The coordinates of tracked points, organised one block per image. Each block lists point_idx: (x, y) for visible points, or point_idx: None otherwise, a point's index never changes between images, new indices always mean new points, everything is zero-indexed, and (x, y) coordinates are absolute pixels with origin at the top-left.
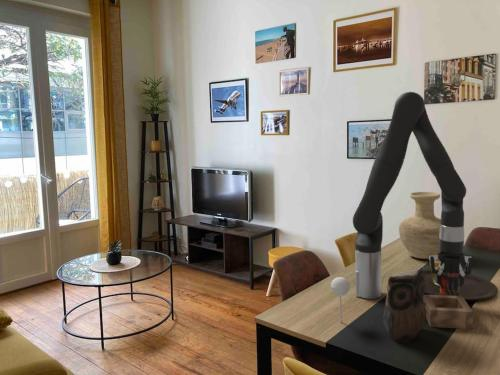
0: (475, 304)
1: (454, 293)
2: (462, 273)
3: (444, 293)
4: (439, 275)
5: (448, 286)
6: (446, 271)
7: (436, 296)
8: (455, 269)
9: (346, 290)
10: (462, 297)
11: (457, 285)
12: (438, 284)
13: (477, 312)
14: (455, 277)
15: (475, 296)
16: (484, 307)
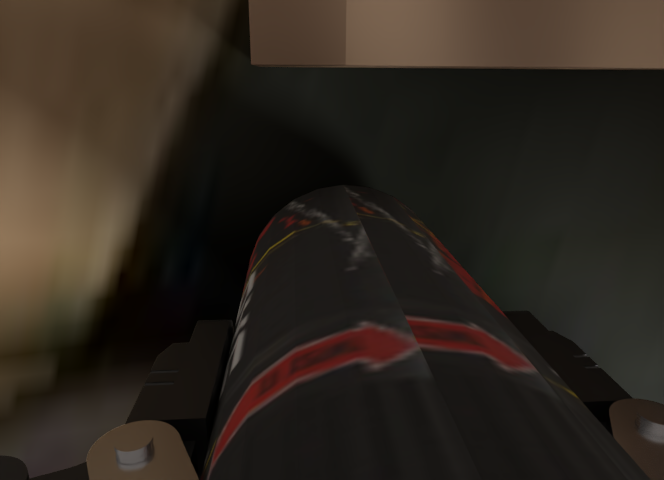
0: (89, 271)
1: (317, 216)
2: (138, 471)
3: (431, 232)
4: (615, 407)
5: (419, 245)
6: (585, 420)
7: (622, 12)
8: (366, 457)
9: None
10: (257, 1)
11: (275, 277)
12: None
13: (101, 73)
14: (329, 323)
15: (60, 447)
16: (11, 210)
